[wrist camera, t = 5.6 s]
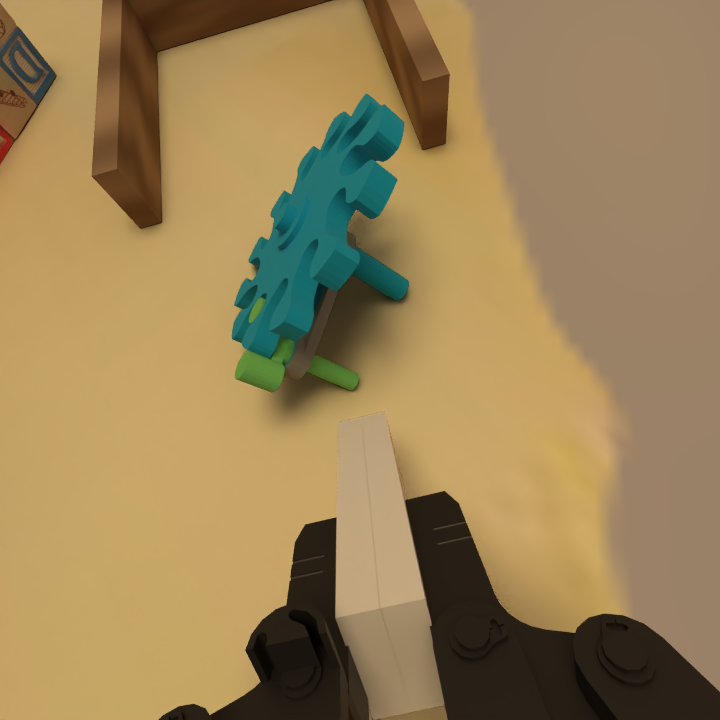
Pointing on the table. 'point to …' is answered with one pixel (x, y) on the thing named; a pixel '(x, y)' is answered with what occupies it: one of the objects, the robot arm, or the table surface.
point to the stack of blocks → (18, 80)
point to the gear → (317, 251)
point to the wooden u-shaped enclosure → (205, 18)
